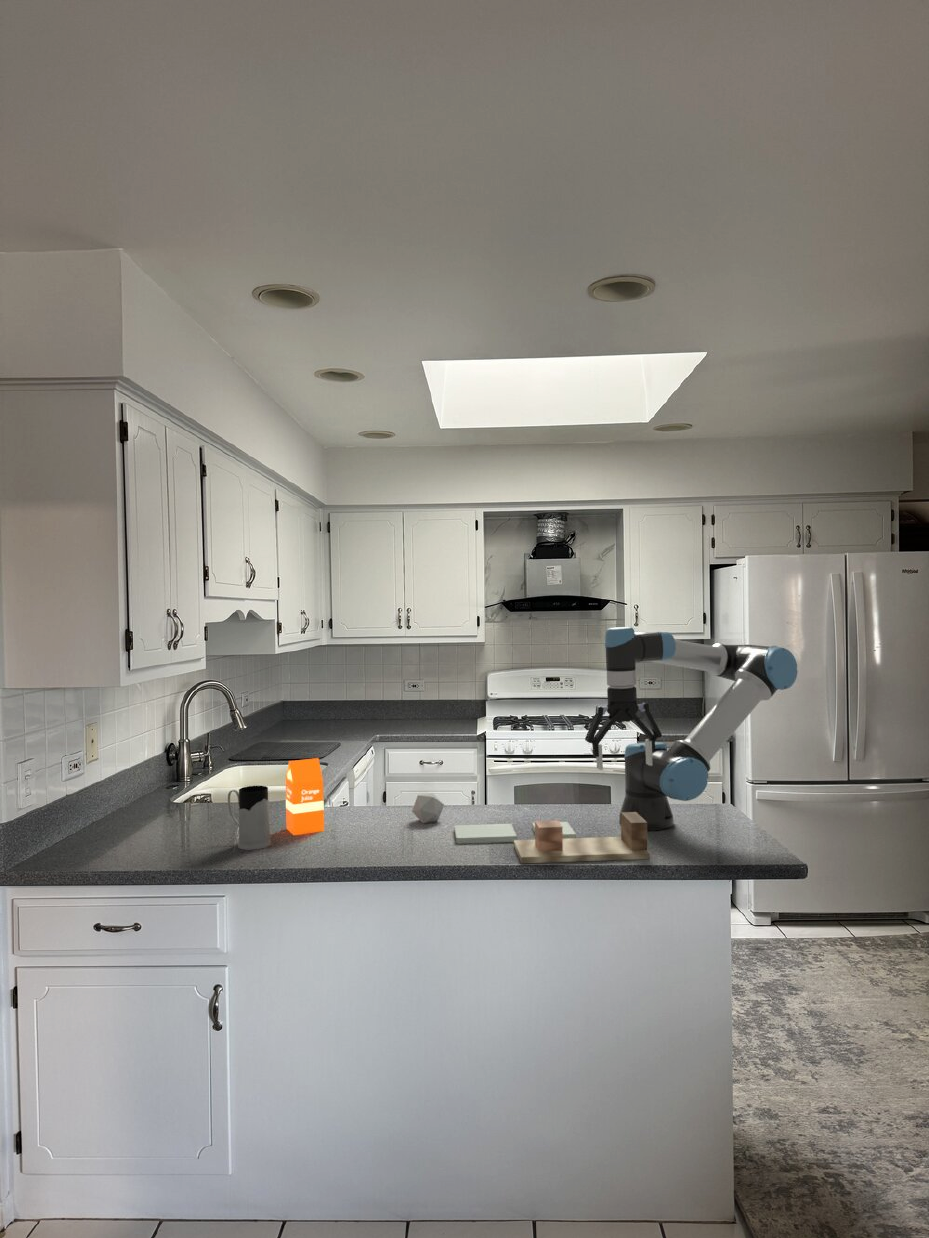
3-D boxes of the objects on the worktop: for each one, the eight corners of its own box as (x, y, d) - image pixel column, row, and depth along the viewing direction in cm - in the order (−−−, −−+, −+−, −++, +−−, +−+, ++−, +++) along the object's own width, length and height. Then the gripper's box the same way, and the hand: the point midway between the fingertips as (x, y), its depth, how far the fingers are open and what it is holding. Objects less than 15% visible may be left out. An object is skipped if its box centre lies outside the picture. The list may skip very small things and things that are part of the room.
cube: (558, 843, 210) (558, 820, 210) (562, 850, 204) (562, 826, 204) (535, 844, 210) (534, 821, 210) (538, 851, 204) (538, 827, 204)
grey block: (435, 817, 245) (415, 792, 245) (453, 807, 240) (433, 782, 240) (422, 834, 238) (401, 808, 238) (441, 823, 234) (420, 797, 233)
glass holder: (253, 851, 212) (252, 794, 212) (216, 843, 220) (215, 787, 220) (278, 842, 220) (277, 787, 219) (241, 835, 227) (240, 781, 227)
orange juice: (286, 828, 233) (284, 758, 233) (316, 824, 237) (314, 755, 237) (293, 835, 226) (292, 763, 226) (324, 830, 230) (323, 760, 230)
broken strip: (567, 826, 231) (567, 821, 231) (576, 839, 219) (575, 833, 219) (454, 830, 229) (454, 825, 229) (456, 843, 217) (456, 838, 217)
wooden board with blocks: (634, 841, 216) (633, 809, 216) (649, 858, 202) (649, 824, 202) (513, 845, 214) (513, 813, 213) (521, 863, 200) (520, 828, 200)
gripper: (661, 681, 220) (663, 759, 220) (571, 687, 216) (574, 767, 217) (672, 684, 212) (675, 765, 213) (579, 691, 208) (583, 773, 209)
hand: (624, 766), depth 215 cm, fingers open, 13 cm apart
